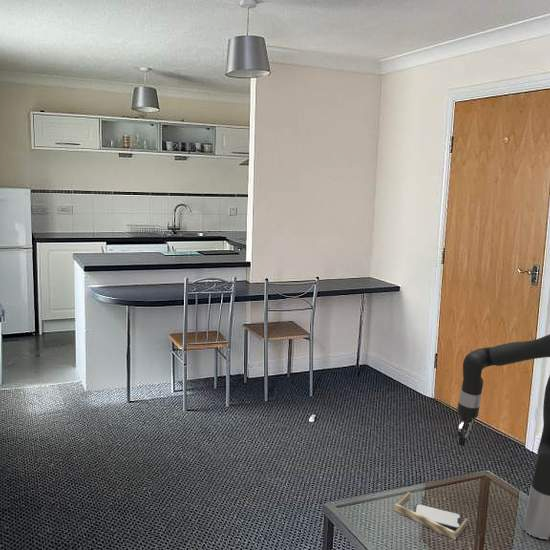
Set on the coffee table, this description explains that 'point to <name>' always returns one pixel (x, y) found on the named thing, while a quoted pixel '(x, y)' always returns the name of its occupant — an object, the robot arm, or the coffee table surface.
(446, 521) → the smartphone
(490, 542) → the coffee table surface
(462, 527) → the wood frame
